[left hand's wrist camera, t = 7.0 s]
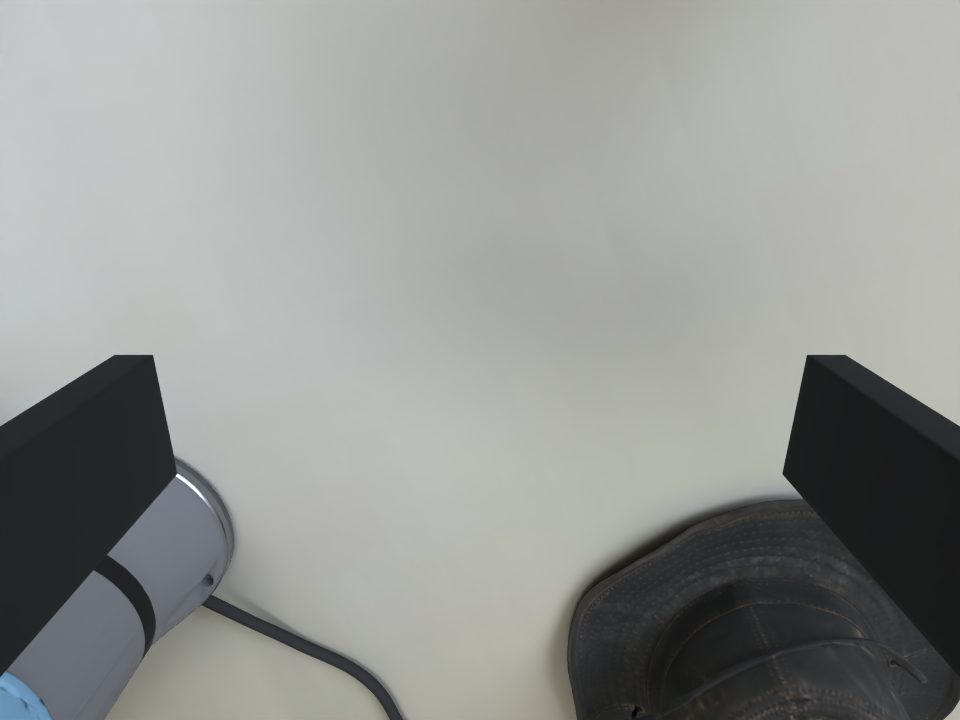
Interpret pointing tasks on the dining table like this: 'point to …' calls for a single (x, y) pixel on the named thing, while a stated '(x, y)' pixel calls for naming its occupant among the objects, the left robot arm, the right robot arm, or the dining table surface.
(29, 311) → the dining table surface
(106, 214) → the dining table surface
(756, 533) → the hat
